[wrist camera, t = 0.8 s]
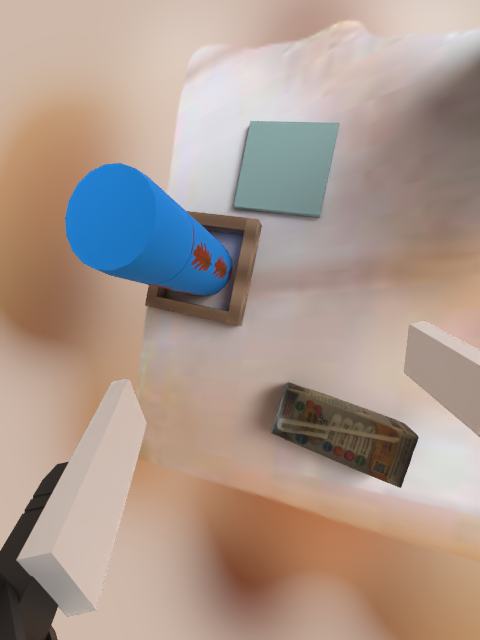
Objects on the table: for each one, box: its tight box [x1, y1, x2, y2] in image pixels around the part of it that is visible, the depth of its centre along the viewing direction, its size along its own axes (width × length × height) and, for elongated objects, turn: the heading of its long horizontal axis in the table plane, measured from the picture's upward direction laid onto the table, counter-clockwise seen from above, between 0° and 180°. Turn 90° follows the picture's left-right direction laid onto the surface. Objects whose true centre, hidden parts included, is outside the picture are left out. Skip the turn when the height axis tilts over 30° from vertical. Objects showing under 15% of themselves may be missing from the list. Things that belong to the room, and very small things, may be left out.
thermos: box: [65, 163, 232, 296], centre depth 38 cm, size 11×11×25 cm
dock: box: [145, 211, 262, 325], centre depth 49 cm, size 18×18×3 cm
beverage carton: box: [271, 383, 418, 487], centre depth 41 cm, size 8×19×7 cm, turn 73°
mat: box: [234, 121, 339, 217], centre depth 46 cm, size 15×15×1 cm
